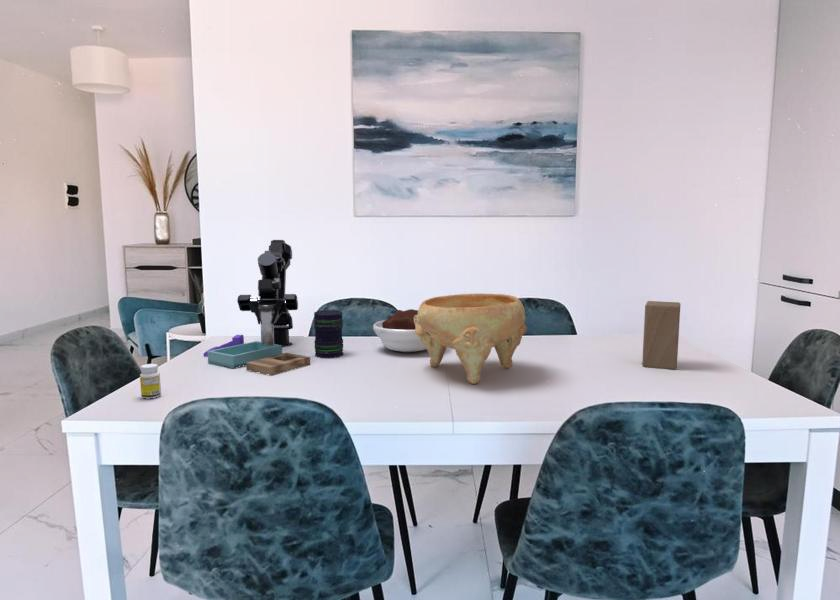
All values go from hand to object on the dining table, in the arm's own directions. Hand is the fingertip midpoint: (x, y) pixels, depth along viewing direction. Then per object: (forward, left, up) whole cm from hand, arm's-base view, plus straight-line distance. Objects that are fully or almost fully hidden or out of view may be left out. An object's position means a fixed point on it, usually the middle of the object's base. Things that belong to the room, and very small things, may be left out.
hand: (266, 323), depth 182 cm
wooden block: (-71, +104, -14) cm, 127 cm away
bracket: (-2, -25, -14) cm, 29 cm away
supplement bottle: (+40, +1, -14) cm, 43 cm away
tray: (-1, -12, -14) cm, 18 cm away
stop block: (0, +5, -14) cm, 15 cm away
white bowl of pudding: (-44, +24, -14) cm, 52 cm away
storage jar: (-22, +6, -14) cm, 27 cm away
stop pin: (-1, -1, -7) cm, 7 cm away
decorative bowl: (-30, +57, -14) cm, 66 cm away
